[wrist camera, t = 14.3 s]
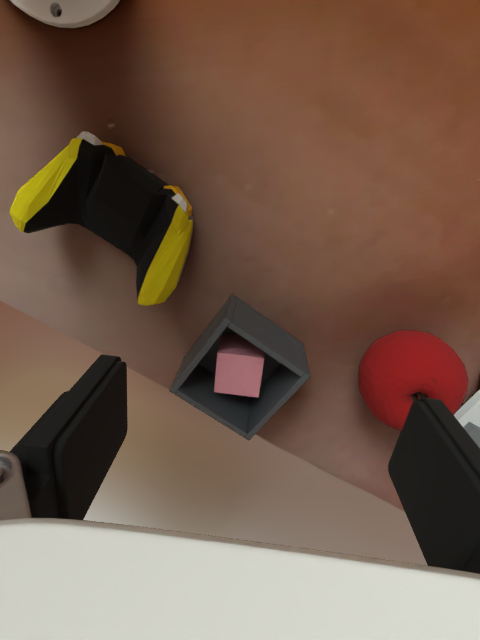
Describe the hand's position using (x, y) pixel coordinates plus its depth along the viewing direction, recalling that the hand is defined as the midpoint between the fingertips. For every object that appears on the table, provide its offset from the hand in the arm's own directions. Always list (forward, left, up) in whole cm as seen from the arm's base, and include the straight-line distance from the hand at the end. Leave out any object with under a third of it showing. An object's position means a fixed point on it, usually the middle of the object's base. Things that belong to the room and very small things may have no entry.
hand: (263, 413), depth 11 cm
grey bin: (+4, -9, -24) cm, 26 cm away
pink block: (+4, -10, -23) cm, 25 cm away
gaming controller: (-13, -4, -24) cm, 27 cm away
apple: (+17, 0, -24) cm, 29 cm away
